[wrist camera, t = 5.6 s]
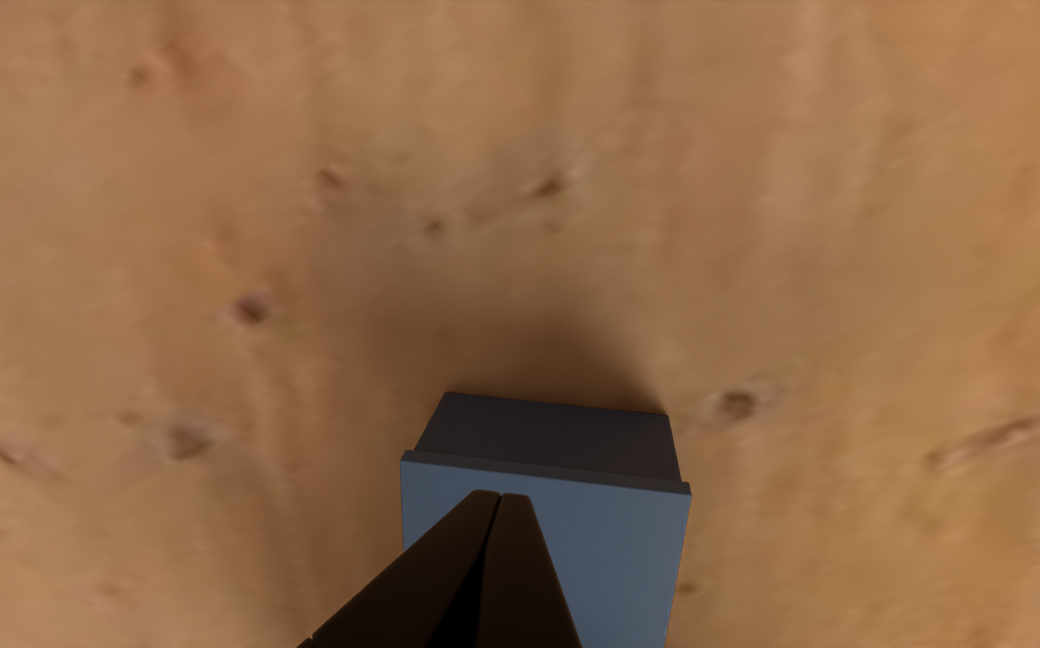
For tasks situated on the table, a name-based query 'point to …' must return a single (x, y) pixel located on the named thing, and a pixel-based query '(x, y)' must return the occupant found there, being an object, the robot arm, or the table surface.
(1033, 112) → the table surface
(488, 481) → the storage box
